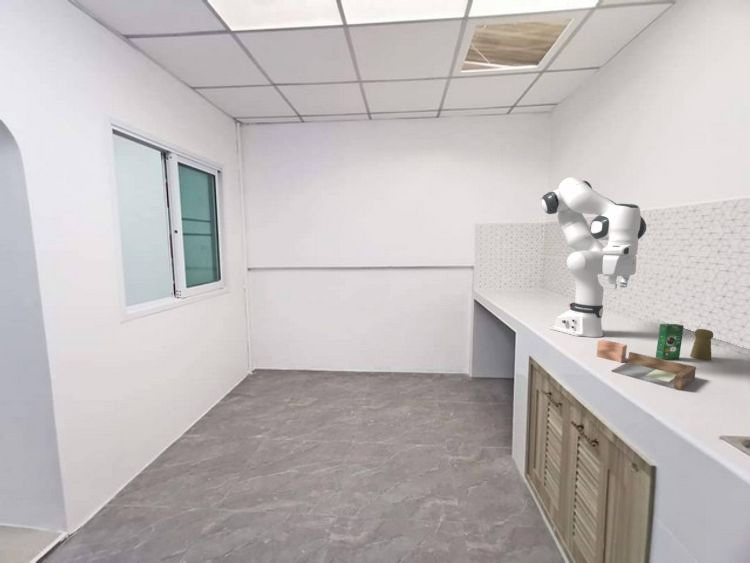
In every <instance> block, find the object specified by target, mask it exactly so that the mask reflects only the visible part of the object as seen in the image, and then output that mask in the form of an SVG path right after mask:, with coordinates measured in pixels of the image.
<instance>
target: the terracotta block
mask: <svg viewBox="0 0 750 563" xmlns="http://www.w3.org/2000/svg"><path fill="white" fill-rule="evenodd" d="M627 349H628V345H627V344H624V343H619V342H615V341H611V340H606V339H600V340H598V341H597V348H596V358H602V359H605V360H609V361H613V362H616V363H620V364H621V363H623V362H626V357H627Z"/></svg>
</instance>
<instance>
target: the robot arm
mask: <svg viewBox="0 0 750 563" xmlns="http://www.w3.org/2000/svg"><path fill="white" fill-rule="evenodd" d="M541 208H542V210H543V211H544V212H545V213H546V214H548V215H554V214H555V215H556V213H557V218H558V224H559V227H560V230H561V232H562V234H563V236H564V238H565V241H566V242H567V244H568V246H569V247H570V248H571V249H572V250H574V251H575V252H574V251H573V252H571V253H570V254H569V255H568V256H567V258H566V267H567V269H568V270H569V271H570V273H571V275H572V277H573V279H574V283H575V284H574V285H575V289H574V290H575V291H574V292H575V294H574V301H573V302H571V303H568V307H569V309H568V310H566V311H564V312H562V313H560V314H559V315H557V316H556V319H555V321H554V323H553V324H550V325H549V327H548V328H549V329H550V330H552V331H556V332H561V333H564V334H568V335H570V336H571V335H572V336H574V337H589V338H597V337H598V338H600V337H603V336H604V332H603V327H602V317H603V314H604V309H603V308H604V304H603V300H604V299H603V298H604V287H603V286H602V285H601V283H600V280H599V276H598V275H603V276H604V277H608V282H609V285H608V287H609V289H611V290H617V287H618V284H617V279H618V277H621V281H620V282H619V283H620V284H619V287H620V288H627V287H628V283H629V280H630V276H634V275H635V274H636V271H637V256H636V255H638V248H639V240H640V239H641V238H642V237H643V236H644V235H645V233H646V232H647V223H646V221H645V219H644V217H642V214H641V209H640V207H639V205H637V204H633V203H616V202H615V201H613V200H611V199H610V198H608V197H606V196H604V195H602V194H601V193H599V192H597V191H596V190H594V188H593V187H592V184H591V183H589V181H587V180H582V179H580V178H578V177H574V176H570V177H567V178H564V179H563V180H562V181H561V182H560V184H559V185H558V187H557V188H556V189H554V190H552V191H549V192H547V193H545V194H543V196H542V197H541ZM583 214H587V215H588V214H589V215H596V216H595V218H594V219H592V221H591V223H590V225H589V222H588V221H587V219H586V218H585V216H584V215H583ZM601 241H607V245H606V246H604V244H602V243H601Z"/></svg>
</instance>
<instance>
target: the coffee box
mask: <svg viewBox="0 0 750 563" xmlns="http://www.w3.org/2000/svg"><path fill="white" fill-rule="evenodd" d="M683 334H684V325H683V324H681V323H680V324H679V323H659V331H658V337H657V338H658V339H657V346H656V350H655V351H656V352H655V358H659V359H664V360H677V359H678V360H679V359H680V355H681V347H682V340H683Z"/></svg>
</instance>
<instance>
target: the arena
mask: <svg viewBox="0 0 750 563" xmlns="http://www.w3.org/2000/svg"><path fill="white" fill-rule="evenodd" d="M696 370H697V367H696V366H695V365H694V366H693V365H690V364H686V363H681V362H676V361H671V360H669V359H667V360H665V359H659V358H656V356H655V357H654V356H652V355H651V356H650V355H645V354H641V353H637V352H633V351H629V352H628V358H627V362H625V363H624V364H621V365H619V366H618V367H616V368H613V369H611V372H613V373H616V374H620V375H622V376H623V375H624V376H626V377H631V378H634V379H637V380H641V381H645V382H649V383H652V384H654V385H655V384H657V385H658V386H662V387H666V388H669V389H674V390H677V391H681V390H683V389H684V388H685V387H686V386H687V385H689V384H690V383H691V382H693V381H695V377H696Z"/></svg>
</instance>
